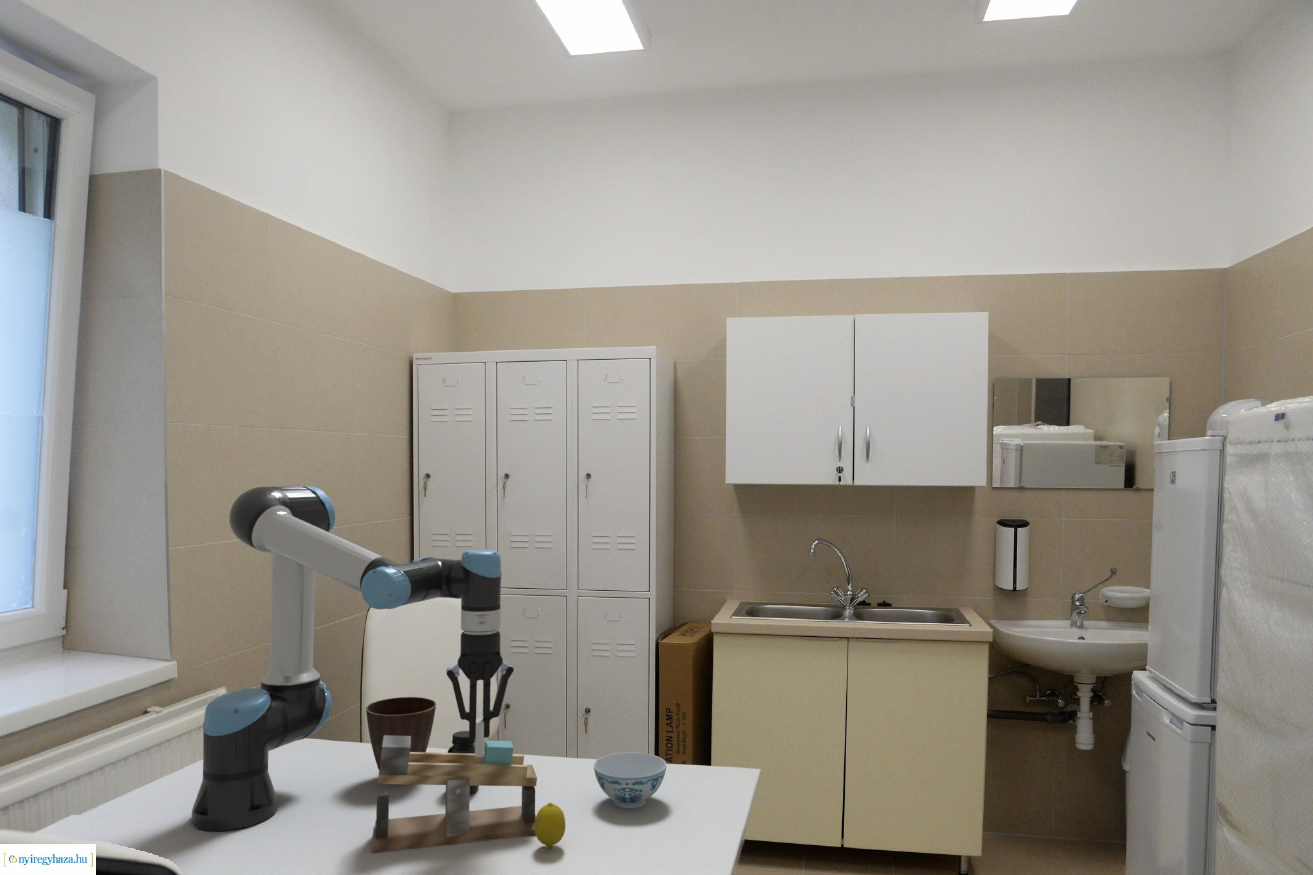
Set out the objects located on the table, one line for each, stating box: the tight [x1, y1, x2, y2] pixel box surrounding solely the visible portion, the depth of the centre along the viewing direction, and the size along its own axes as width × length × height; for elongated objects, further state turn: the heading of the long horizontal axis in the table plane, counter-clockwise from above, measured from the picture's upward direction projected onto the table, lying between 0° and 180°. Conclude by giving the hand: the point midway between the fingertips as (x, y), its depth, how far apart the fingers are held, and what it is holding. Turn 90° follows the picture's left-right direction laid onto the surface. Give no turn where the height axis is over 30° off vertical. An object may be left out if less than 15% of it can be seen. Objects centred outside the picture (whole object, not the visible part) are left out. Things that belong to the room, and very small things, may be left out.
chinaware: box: [593, 751, 667, 809], centre depth 177 cm, size 15×15×8 cm
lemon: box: [535, 802, 566, 849], centre depth 155 cm, size 6×6×8 cm
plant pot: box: [365, 696, 437, 771], centre depth 190 cm, size 15×15×16 cm
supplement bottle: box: [446, 730, 480, 796], centre depth 183 cm, size 7×7×12 cm
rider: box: [483, 739, 514, 765], centre depth 165 cm, size 5×4×5 cm
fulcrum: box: [371, 778, 537, 854], centre depth 163 cm, size 30×12×11 cm, turn 105°
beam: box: [377, 735, 538, 787], centre depth 163 cm, size 29×7×7 cm, turn 105°
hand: (479, 754), depth 164 cm, fingers closed
